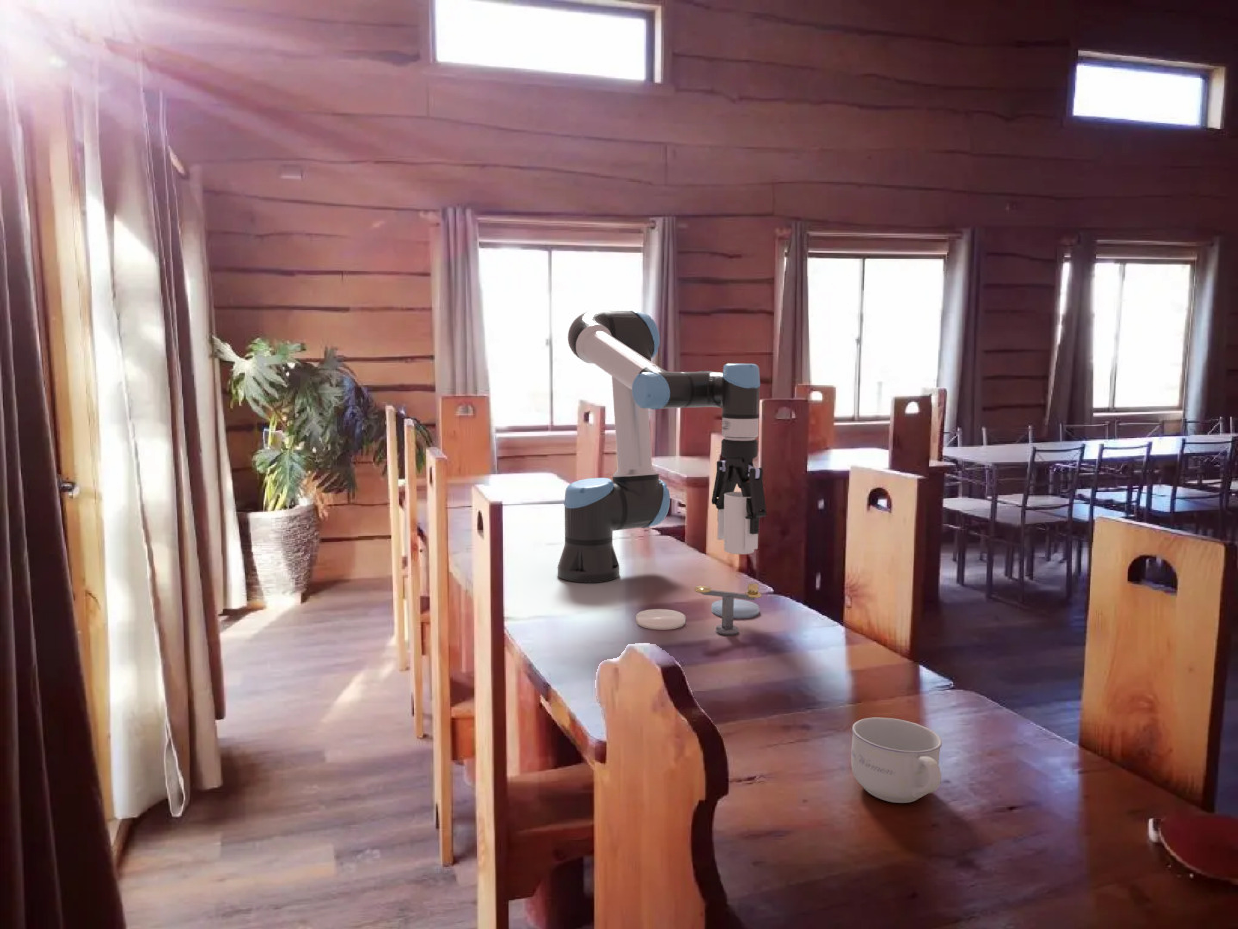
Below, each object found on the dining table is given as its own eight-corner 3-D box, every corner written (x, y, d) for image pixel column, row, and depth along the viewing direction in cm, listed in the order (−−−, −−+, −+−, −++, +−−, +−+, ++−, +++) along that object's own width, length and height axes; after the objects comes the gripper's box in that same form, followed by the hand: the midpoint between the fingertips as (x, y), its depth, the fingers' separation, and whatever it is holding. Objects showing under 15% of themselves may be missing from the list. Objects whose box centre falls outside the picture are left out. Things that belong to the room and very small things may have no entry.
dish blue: (702, 607, 191) (702, 602, 191) (741, 602, 196) (742, 597, 196) (727, 620, 182) (728, 615, 182) (768, 614, 187) (768, 609, 187)
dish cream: (627, 618, 184) (627, 612, 184) (670, 612, 188) (670, 606, 188) (650, 632, 175) (650, 626, 175) (694, 625, 179) (694, 620, 179)
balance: (689, 633, 174) (690, 586, 173) (752, 624, 181) (753, 578, 179) (700, 640, 170) (701, 592, 169) (764, 630, 177) (766, 583, 175)
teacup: (838, 772, 118) (840, 715, 117) (917, 769, 119) (920, 712, 118) (876, 829, 104) (880, 764, 103) (965, 825, 105) (970, 761, 104)
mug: (759, 554, 183) (761, 496, 181) (728, 555, 182) (729, 497, 180) (744, 543, 193) (746, 488, 191) (714, 544, 192) (715, 489, 190)
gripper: (696, 434, 193) (694, 535, 195) (755, 444, 173) (752, 557, 176) (726, 432, 196) (723, 532, 199) (787, 443, 176) (783, 553, 179)
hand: (737, 543), depth 187 cm, fingers closed on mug, 10 cm apart
